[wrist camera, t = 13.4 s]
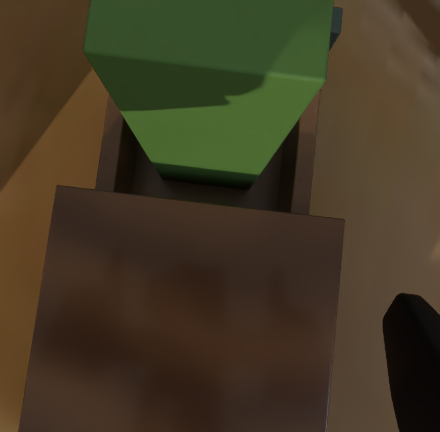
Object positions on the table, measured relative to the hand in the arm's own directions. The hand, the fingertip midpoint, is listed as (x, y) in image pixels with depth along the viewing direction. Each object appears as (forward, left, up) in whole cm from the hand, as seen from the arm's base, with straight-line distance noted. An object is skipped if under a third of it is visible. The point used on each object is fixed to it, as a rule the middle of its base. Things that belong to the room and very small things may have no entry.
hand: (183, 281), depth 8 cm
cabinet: (-3, +2, -13) cm, 14 cm away
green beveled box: (+5, -3, -11) cm, 13 cm away
